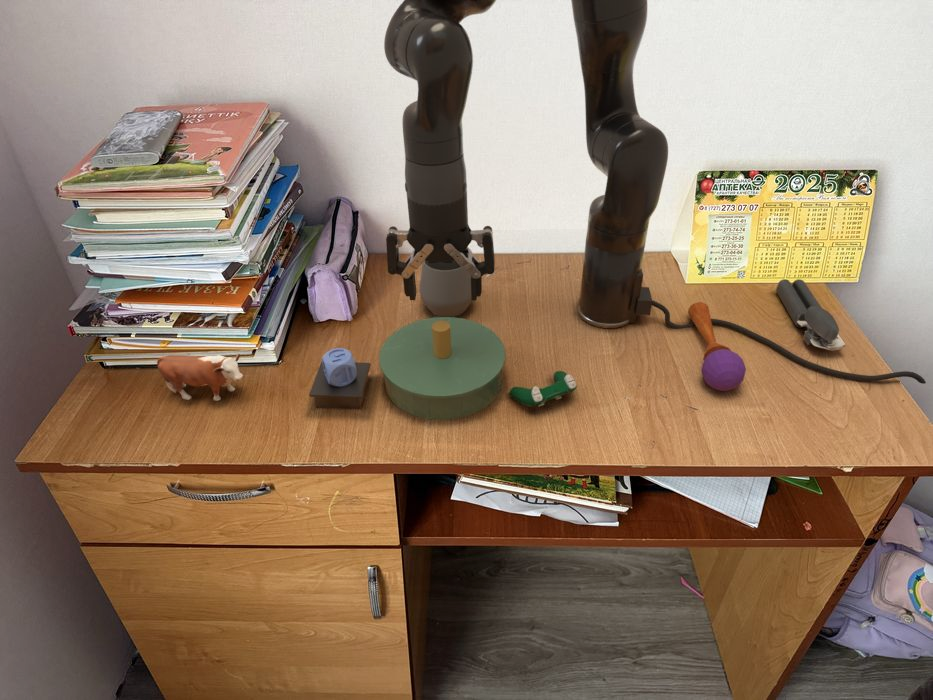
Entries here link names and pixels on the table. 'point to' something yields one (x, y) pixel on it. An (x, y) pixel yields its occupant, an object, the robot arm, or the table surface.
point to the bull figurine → (199, 372)
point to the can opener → (809, 315)
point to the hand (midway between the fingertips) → (443, 297)
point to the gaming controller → (544, 390)
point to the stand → (341, 390)
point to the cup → (445, 288)
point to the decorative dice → (339, 367)
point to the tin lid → (442, 357)
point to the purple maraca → (716, 354)
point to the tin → (445, 402)
